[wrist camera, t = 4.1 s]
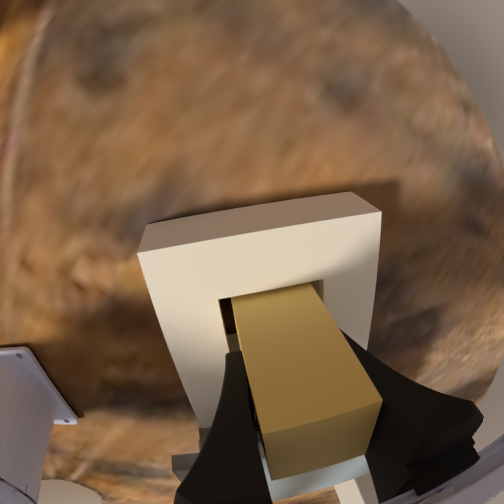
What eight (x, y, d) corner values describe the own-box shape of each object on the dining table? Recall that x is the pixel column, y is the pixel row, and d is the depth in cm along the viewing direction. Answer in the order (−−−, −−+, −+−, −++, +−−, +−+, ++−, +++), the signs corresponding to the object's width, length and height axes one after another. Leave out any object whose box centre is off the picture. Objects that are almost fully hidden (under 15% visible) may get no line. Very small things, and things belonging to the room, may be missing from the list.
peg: (241, 354, 15) (271, 480, 9) (230, 296, 14) (262, 434, 8) (309, 339, 16) (365, 454, 9) (308, 281, 14) (383, 400, 8)
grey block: (200, 445, 23) (209, 513, 17) (170, 381, 19) (172, 471, 13) (350, 411, 24) (379, 472, 19) (363, 340, 20) (409, 412, 15)
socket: (198, 392, 20) (201, 428, 17) (146, 224, 14) (137, 253, 12) (342, 361, 21) (358, 392, 18) (351, 191, 15) (381, 211, 13)
